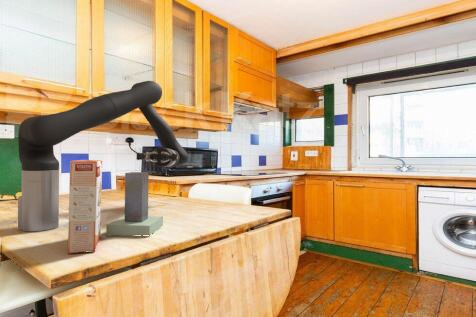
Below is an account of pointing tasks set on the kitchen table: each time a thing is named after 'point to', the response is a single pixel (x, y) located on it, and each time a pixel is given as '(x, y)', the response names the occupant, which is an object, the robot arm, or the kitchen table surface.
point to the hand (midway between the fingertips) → (151, 156)
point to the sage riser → (134, 226)
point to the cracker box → (84, 205)
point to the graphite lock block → (136, 196)
